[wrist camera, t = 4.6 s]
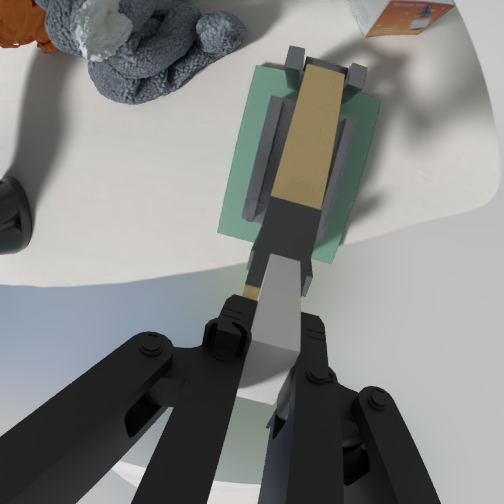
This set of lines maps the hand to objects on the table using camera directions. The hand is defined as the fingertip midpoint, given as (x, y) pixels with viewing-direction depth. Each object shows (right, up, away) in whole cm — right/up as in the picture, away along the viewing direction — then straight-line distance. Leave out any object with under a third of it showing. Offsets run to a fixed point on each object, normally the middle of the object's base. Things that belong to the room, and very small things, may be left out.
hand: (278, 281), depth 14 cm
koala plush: (-13, +27, +12) cm, 33 cm away
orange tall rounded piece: (-31, +37, +11) cm, 50 cm away
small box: (+14, +29, +7) cm, 34 cm away
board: (+4, +11, +16) cm, 20 cm away
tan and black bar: (+2, +7, +3) cm, 8 cm away
